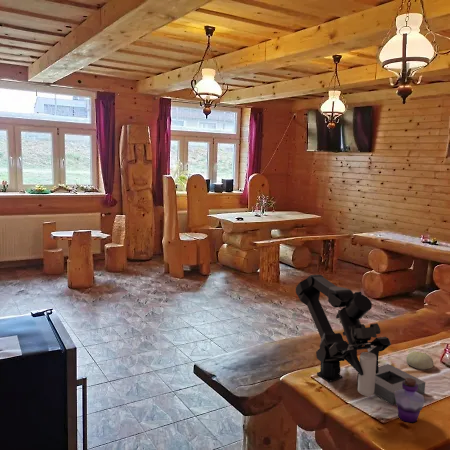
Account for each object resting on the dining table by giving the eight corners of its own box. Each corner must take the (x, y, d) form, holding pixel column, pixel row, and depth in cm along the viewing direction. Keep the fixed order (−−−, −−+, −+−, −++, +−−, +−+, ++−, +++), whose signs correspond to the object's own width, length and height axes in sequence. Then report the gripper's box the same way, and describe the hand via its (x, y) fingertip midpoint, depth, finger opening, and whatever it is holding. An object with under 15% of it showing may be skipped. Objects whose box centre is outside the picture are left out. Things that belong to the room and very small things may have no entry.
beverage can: (375, 397, 132) (377, 359, 130) (358, 395, 133) (360, 357, 131) (373, 389, 137) (375, 352, 135) (356, 387, 138) (359, 350, 136)
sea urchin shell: (407, 352, 173) (423, 342, 169) (421, 370, 170) (438, 360, 166) (400, 360, 165) (418, 350, 161) (415, 379, 163) (433, 369, 159)
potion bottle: (397, 406, 137) (400, 370, 136) (427, 417, 132) (430, 379, 130) (387, 418, 131) (390, 380, 129) (418, 430, 125) (421, 390, 124)
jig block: (356, 384, 151) (357, 372, 151) (387, 374, 158) (388, 363, 158) (392, 405, 138) (393, 393, 138) (424, 393, 146) (425, 382, 145)
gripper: (335, 316, 133) (353, 368, 124) (389, 312, 138) (410, 361, 129) (321, 332, 141) (337, 381, 133) (372, 327, 147) (391, 374, 138)
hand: (369, 374), depth 133 cm, fingers closed on beverage can, 5 cm apart
